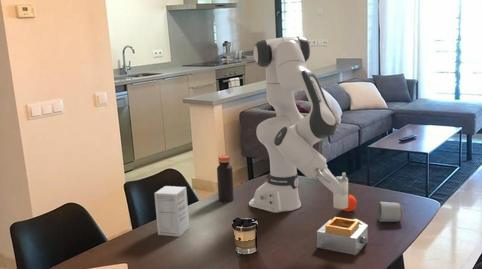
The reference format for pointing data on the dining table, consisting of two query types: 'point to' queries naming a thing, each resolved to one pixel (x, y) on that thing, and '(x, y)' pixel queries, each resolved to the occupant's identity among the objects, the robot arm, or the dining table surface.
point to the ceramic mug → (389, 212)
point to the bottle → (225, 179)
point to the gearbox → (342, 236)
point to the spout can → (338, 199)
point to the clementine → (351, 203)
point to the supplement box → (172, 211)
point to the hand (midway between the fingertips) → (342, 191)
